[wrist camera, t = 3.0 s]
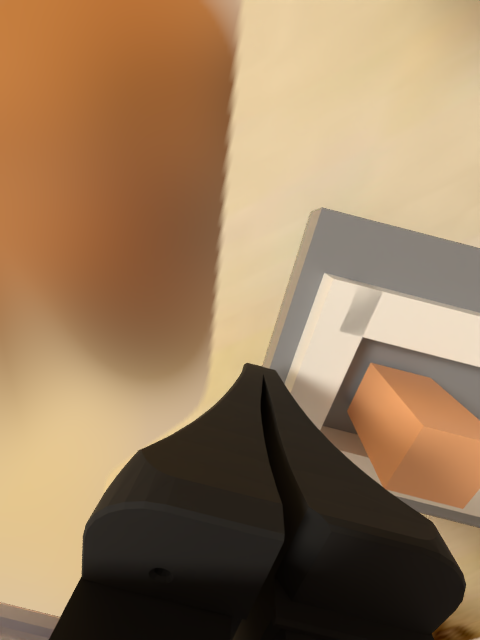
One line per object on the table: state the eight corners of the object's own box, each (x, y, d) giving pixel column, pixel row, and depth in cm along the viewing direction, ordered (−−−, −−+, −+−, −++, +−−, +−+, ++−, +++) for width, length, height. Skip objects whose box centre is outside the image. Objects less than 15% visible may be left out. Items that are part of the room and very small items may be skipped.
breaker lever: (402, 425, 13) (463, 509, 9) (346, 411, 13) (383, 488, 9) (430, 377, 12) (512, 448, 8) (370, 362, 12) (423, 426, 8)
